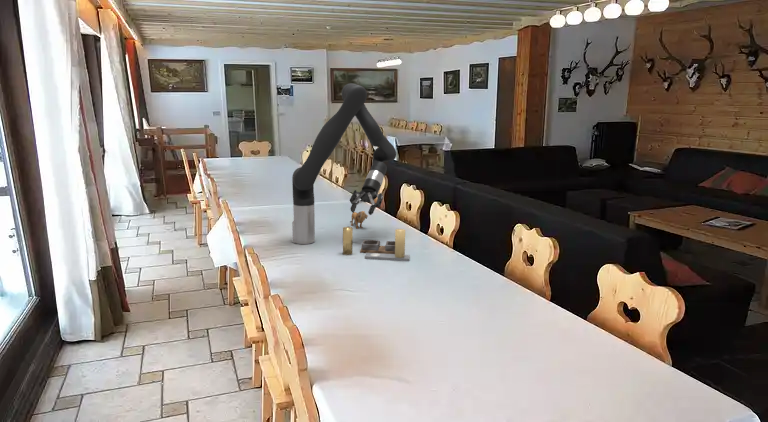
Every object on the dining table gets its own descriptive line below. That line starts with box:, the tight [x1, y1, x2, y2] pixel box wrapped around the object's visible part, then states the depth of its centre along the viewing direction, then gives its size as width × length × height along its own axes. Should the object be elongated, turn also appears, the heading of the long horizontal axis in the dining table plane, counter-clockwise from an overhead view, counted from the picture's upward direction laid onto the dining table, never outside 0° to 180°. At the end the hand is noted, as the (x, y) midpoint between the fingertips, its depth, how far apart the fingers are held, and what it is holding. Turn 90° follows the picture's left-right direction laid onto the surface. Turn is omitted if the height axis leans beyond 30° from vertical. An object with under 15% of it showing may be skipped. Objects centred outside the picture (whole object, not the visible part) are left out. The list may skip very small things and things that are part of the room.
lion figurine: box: [349, 210, 369, 229], centre depth 254 cm, size 15×5×9 cm, turn 34°
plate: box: [364, 228, 411, 262], centre depth 205 cm, size 18×5×12 cm, turn 84°
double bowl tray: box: [359, 239, 395, 254], centre depth 215 cm, size 18×8×4 cm, turn 84°
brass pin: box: [342, 226, 354, 256], centre depth 210 cm, size 4×4×11 cm
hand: (360, 212), depth 218 cm, fingers open, 8 cm apart
